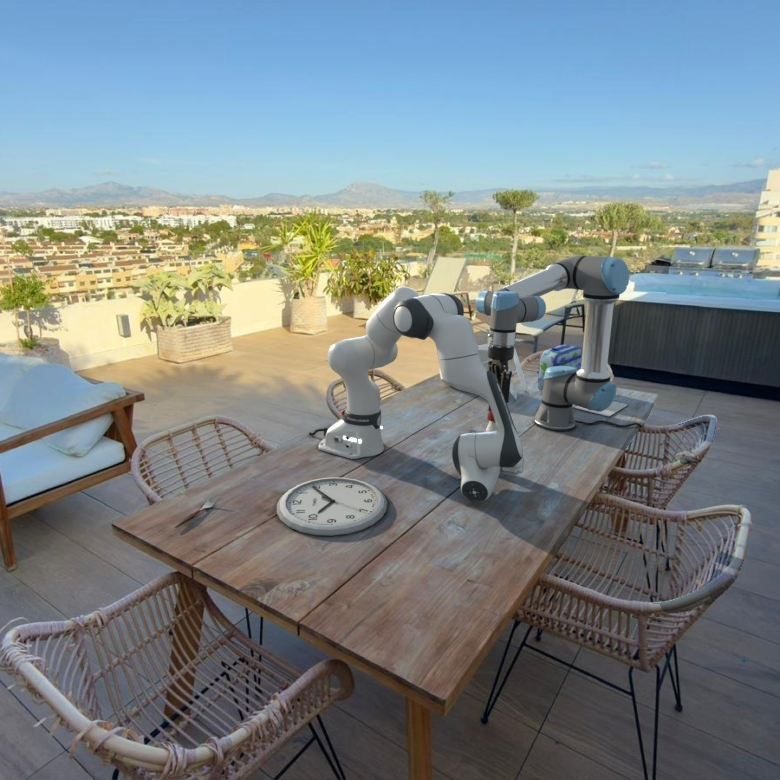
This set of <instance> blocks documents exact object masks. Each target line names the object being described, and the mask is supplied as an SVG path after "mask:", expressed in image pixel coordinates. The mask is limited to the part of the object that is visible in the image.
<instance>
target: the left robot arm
mask: <svg viewBox="0 0 780 780" xmlns="http://www.w3.org/2000/svg"><path fill="white" fill-rule="evenodd" d="M365 332H366V334H365V335H363V336H358V337H352V338H345V339H342V340H340V341H337V342H335V343H333V344H331V345H330V347H329V348H328V351H327V357H326V359H327V363H328V365H329V367H330V369H331V370H332V371H334V373H336V375H338V376H340V378H341V379H342V382H343V383H344V386H345V392H346V393H345V395H346V406H345V408H343V409H342V411H341V412H340V413H339V414H340V415H339V417H342V418H340V419H339V420H337V421H336V422H335V423H333V424H328V425H327V426H325V427H323V428H316V429H314V430H313V432H312V431H311V432H309V433H308V435H309V436H311V437H313V436H315V435H316V434H317V433H318V432H323V437H324V438H323V439H321V441H320V442H319V443H318V451H322V452H326V453H328V454H333V455H336V456H339V457H343V458H347V459H350V460H358V459H360V458H367V457H369V458H370V457H374V456H377V455H380V454H381V453H382V452H384V450H385V446H384V442H383V438H382V432H381V430H383V426H382V409H381V389H380V386H379V385H378V384H377V383H376V382H374V381H373V380H370V377H369V370H374V369H379V368H383V367H385V366H388V365H389V364H391V363H393V362H395V361H396V359H397V356H398V352H399V350H398V344H397V342H398V341H399V340H400V339H401V338H402V337H403V336H404V337H408V338H412V339H417V340H418V339H419V340H422V341H425V340H426V339H428V338H430V339H431V340H432V341H433V342H434V345H435V347H436V354H437V360H438V367H439V370H440V371H441V374H442V377H443V379H444V380H445V381H446V382H447V383H448V384H449V385H448V386H450V387H452V388H453V389H457V390H460V391H463V392H465V393H466V392H467V393H470V394H475V395H477V396H480V398H481V397H482V398H483V399H484V400H485V401H486V402H487V404H488V406H489V405H490V408H491V411H492V414H493V417H494V420H495V423H496V425H497V428H498V430H497V431H490V432H486V431H480V432H478V431H477V432H476V431H475V432H467V433H460V434H459V435H458V436H457V438H456V439H455V441H454V443H453V446H452V451H451V456H452V462H453V465H454V468H455V473H456V474H458V475H460V477H461V480H460V492H461V494H462V496H463V497H464V498H465V499H466V500H468V501H469V502H472V503H483V502H485V501H486V500H488V499H489V498H490V497H491V495H492V493H493V492H494V490H495V487H496V485H497V481H498V479H499V477H500V474H506V475H512V476H517V475H519V474H522V473H523V471H524V464H525V457H524V446H523V442H522V440H521V437H520V435H519V433H518V431H517V428H516V426H515V424H514V421H513V418H512V415H511V411H510V409H509V406H508V403H506V400H505V397H504V394H503V392H502V389H501V386H500V384H499V381H498V379H497V377H496V376H495V374H494V373H493V372H491V371H488V370H487V369H486V368H485V366H484V365H483V363H482V361H481V359H480V355H479V349H478V340H477V337H476V334H475V330H474V328H473V325H472V323H471V321H470V319H469V317H467V316H465V308H464V304H463V302H462V301H461V299H460V298H459V297H458V296H456V295H455V294H451V293H446V292H443V293H442V292H441V293H429V294H424V295H420V294H418V292H417V291H416V290H415V289H413V288H411V287H409V286H399V287H397V288H395V289H394V290H393V291H391V292H390V293H389V294H388V295H387V296H386V297H385V298H384V299H383V300H382V301H381V302H380V303H379V305H378V306H377V307H376V309H375V310H374V311H373V312H372V314H371V315H370V317H369V318H368V319H367V320H366V323H365Z"/></svg>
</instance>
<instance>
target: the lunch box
mask: <svg viewBox="0 0 780 780" xmlns="http://www.w3.org/2000/svg"><path fill="white" fill-rule="evenodd" d="M582 353H583V348H582V347H580V346H574V345H570V344H569V345H568V344H560V345H558V346H555V347H551V348H549V349H546V350H544V351H543V352H542V353H541V355H540V358H539V365H538V377H537V389H538V390H539V391H543V382H544V379H543V378H544V375H545V371H546V369H547V368H549V367H554V366H571V367H575V368H577V371H578V370H579V369H580V368H581V364H582Z"/></svg>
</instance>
